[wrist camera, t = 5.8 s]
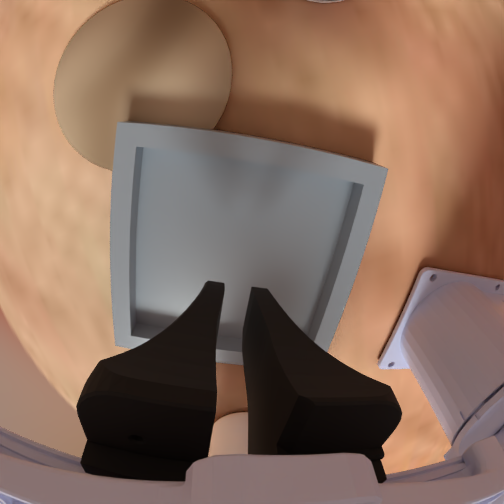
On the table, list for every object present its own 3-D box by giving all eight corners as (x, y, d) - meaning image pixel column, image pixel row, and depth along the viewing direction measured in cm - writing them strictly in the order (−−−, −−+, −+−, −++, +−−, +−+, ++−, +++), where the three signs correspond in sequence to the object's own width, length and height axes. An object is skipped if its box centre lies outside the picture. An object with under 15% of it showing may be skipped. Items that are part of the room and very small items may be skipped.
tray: (372, 162, 15) (388, 168, 13) (313, 351, 20) (319, 370, 18) (130, 120, 13) (117, 121, 12) (123, 327, 18) (115, 345, 17)
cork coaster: (248, 4, 11) (248, 1, 11) (214, 182, 15) (214, 184, 15) (75, 2, 10) (71, 1, 10) (50, 164, 14) (46, 166, 14)
